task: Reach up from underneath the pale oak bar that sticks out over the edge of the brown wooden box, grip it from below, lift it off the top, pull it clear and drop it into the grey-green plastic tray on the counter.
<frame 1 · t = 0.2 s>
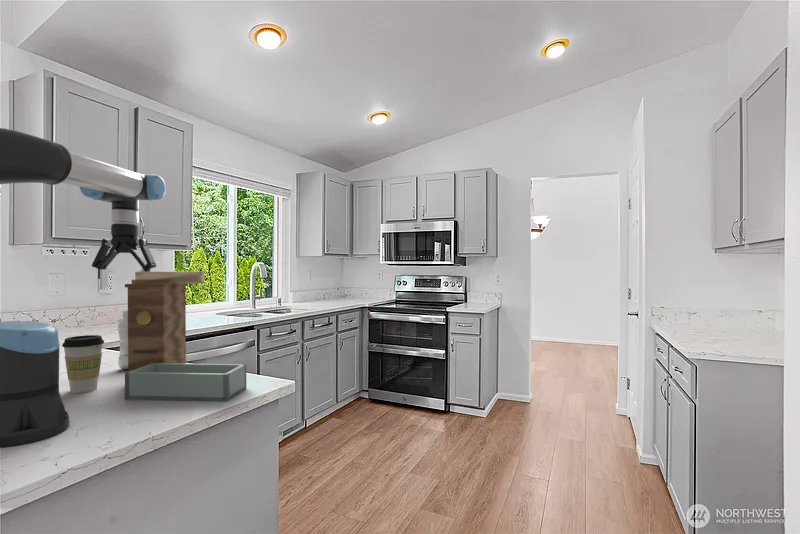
hand: (123, 289, 144), 28 cm above the counter, tool pointing down, fingers open, 13 cm apart
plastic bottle: (129, 369, 152), on the counter
brown wooden box: (158, 379, 138), on the counter
coffee cup: (83, 390, 127), on the counter
tray: (188, 393, 123), on the counter
bar: (170, 283, 138), point 30 cm above the counter, touching brown wooden box
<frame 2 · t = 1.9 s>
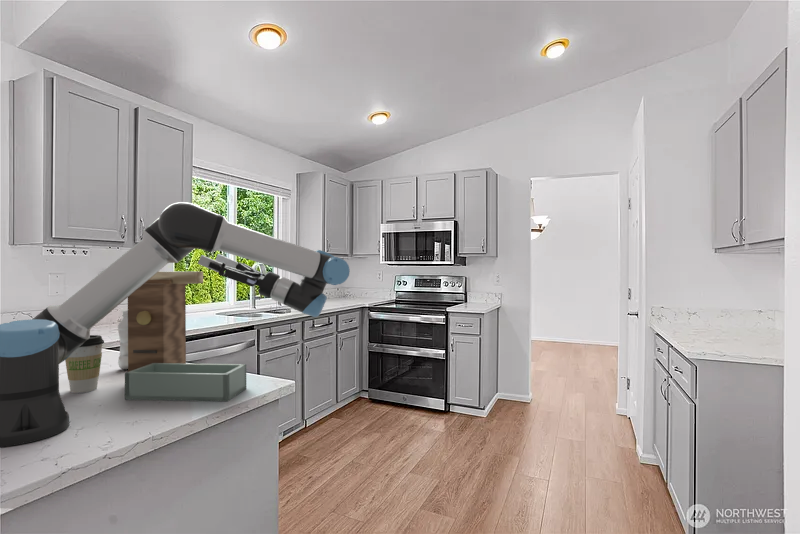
hand: (208, 258, 133), 38 cm above the counter, tool pointing upward, fingers open, 12 cm apart
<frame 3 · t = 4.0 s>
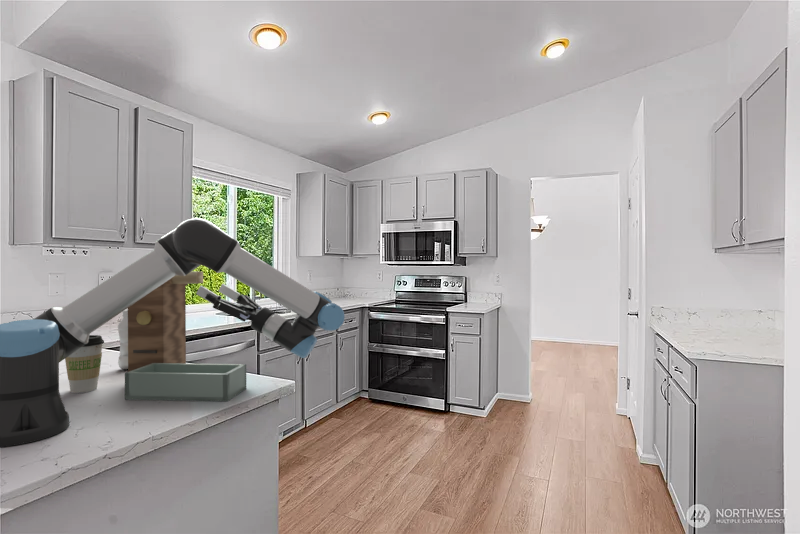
hand: (210, 288, 137), 28 cm above the counter, tool pointing upward, fingers open, 13 cm apart
nothing on the counter moved.
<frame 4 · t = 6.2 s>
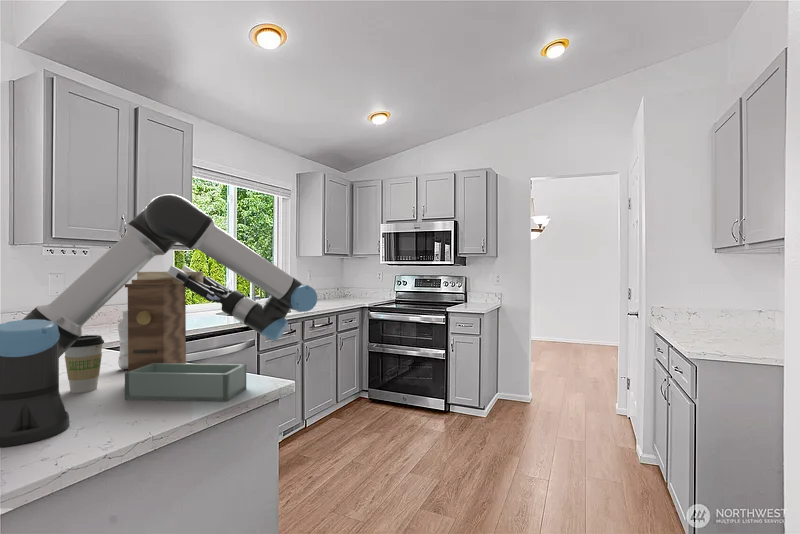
hand: (176, 269, 137), 34 cm above the counter, tool pointing upward, fingers open, 6 cm apart
bar: (170, 283, 137), point 30 cm above the counter, touching brown wooden box, gripper
everything else where it was.
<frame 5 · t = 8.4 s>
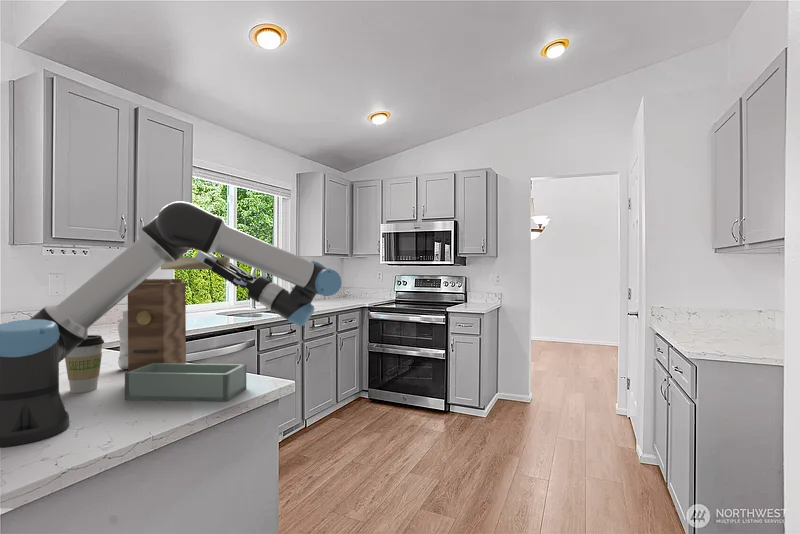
hand: (200, 254, 137), 39 cm above the counter, tool pointing upward, fingers closed on bar, 4 cm apart
bar: (195, 269, 137), point 34 cm above the counter, touching gripper
everything else where it was.
when the fingers open (33 cm above the counter, at t = 10.4 s): bar drops 25 cm and tips over, resting on tray.
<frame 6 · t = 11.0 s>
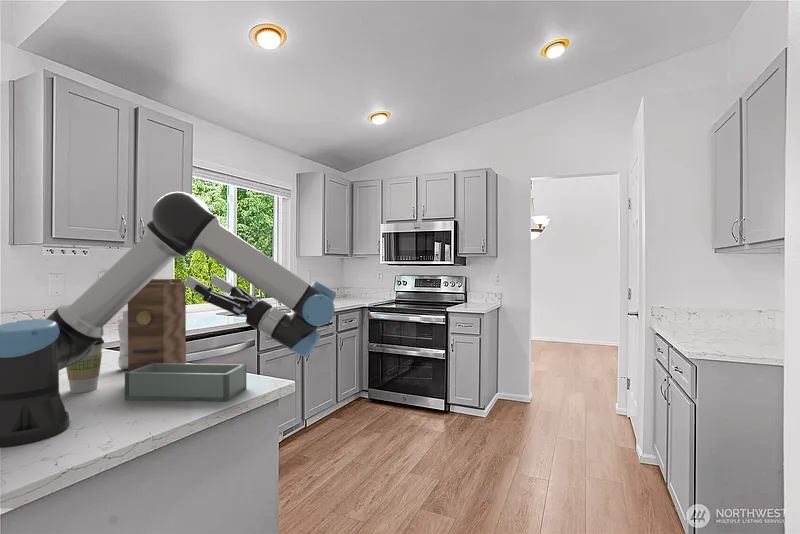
hand: (200, 279, 122), 32 cm above the counter, tool pointing upward, fingers open, 13 cm apart
bar: (187, 384, 122), point 3 cm above the counter, tilted 90°, touching tray
everything else where it was.
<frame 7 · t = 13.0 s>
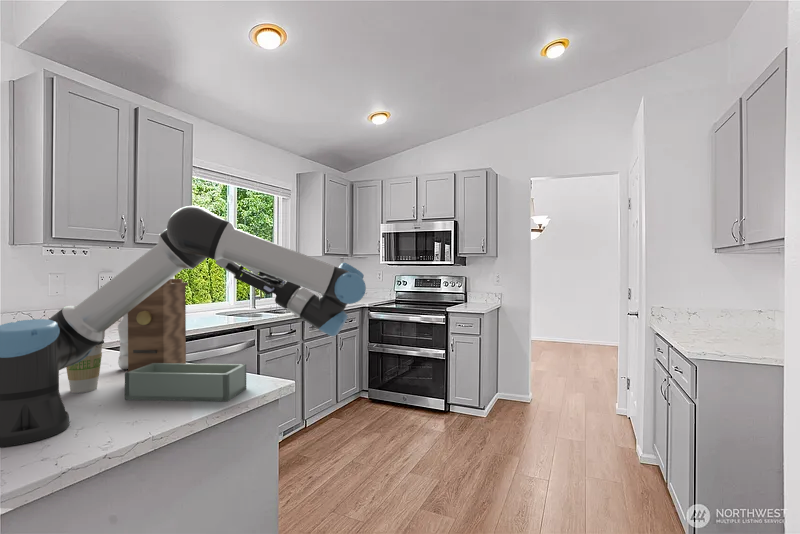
hand: (230, 259, 124), 37 cm above the counter, tool pointing upward, fingers open, 13 cm apart
nothing on the counter moved.
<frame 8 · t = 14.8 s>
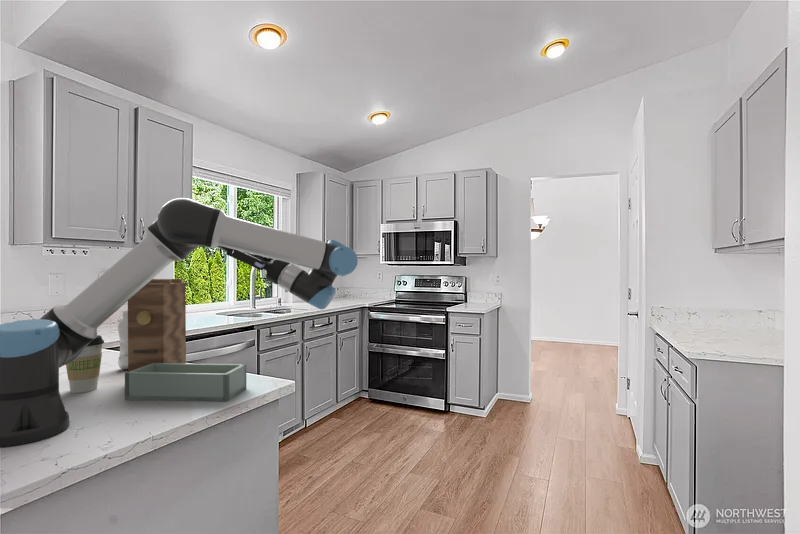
hand: (222, 238, 130), 43 cm above the counter, tool pointing upward, fingers open, 13 cm apart
nothing on the counter moved.
at the end: bar inside the target area on the tray (0.9 cm from its centre), point 2.8 cm above the tray's base; the gripper is holding nothing; bar moved 33.9 cm from its start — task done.
